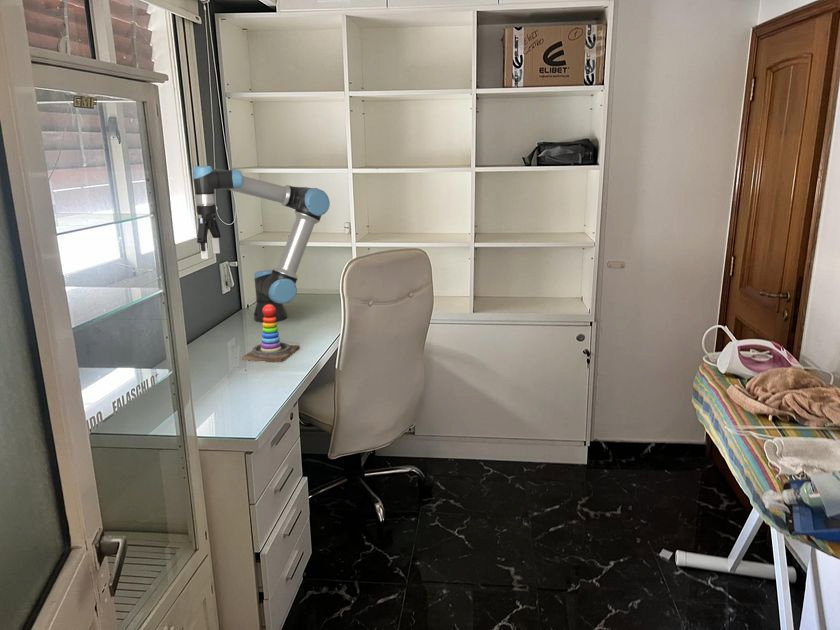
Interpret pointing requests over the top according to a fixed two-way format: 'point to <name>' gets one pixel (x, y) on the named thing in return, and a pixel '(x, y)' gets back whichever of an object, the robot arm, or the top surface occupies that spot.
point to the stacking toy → (270, 331)
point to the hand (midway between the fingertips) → (211, 256)
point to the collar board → (271, 359)
